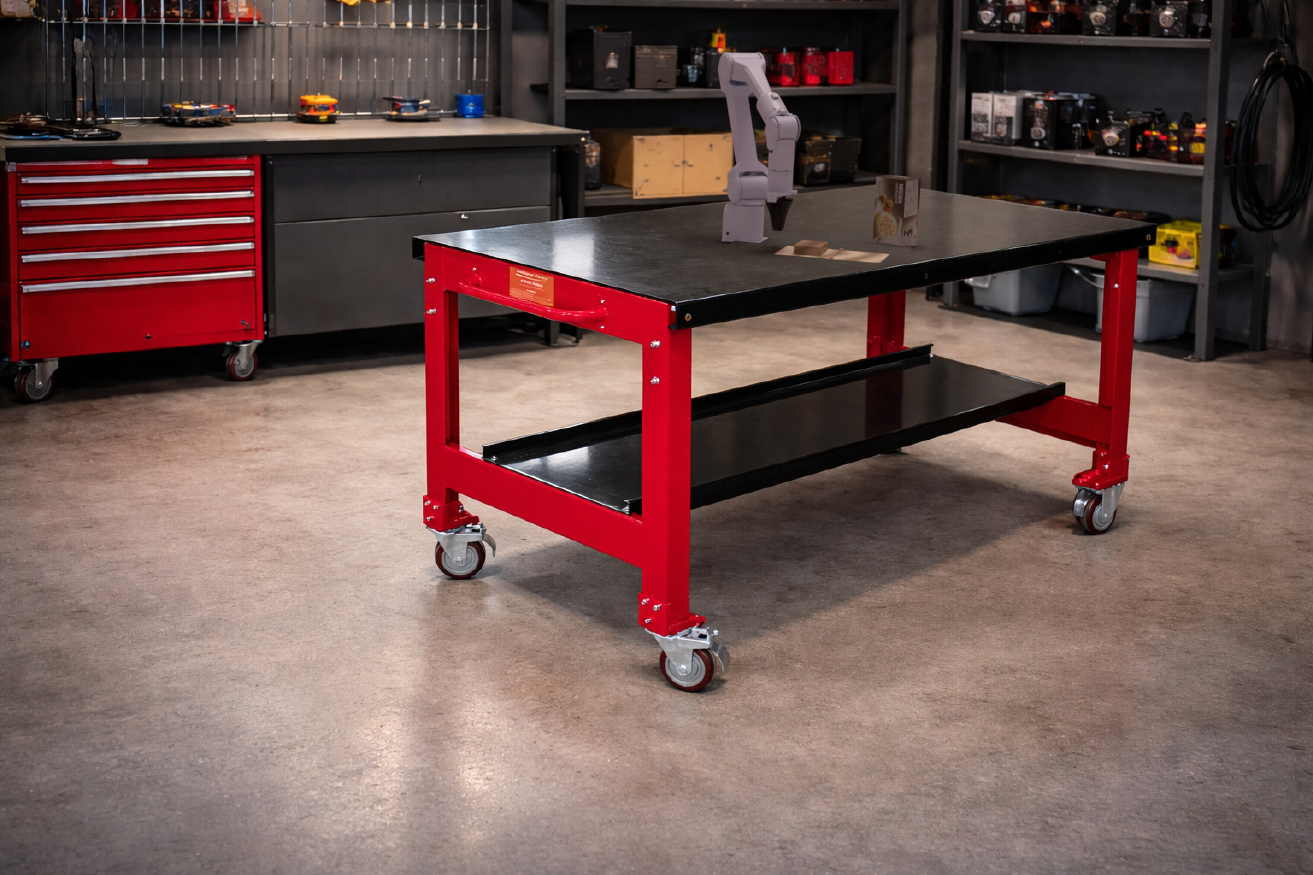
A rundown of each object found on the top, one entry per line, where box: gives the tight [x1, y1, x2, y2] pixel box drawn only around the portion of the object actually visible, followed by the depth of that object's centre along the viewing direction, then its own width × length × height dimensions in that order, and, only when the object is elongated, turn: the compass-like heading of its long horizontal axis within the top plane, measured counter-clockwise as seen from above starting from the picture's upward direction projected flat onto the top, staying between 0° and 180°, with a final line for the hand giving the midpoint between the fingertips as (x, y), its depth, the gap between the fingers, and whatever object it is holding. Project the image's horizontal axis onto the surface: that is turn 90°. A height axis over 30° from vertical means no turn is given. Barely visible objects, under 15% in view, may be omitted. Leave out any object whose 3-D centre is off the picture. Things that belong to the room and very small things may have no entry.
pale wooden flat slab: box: [774, 245, 890, 264], centre depth 309 cm, size 24×12×1 cm, turn 71°
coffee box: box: [871, 174, 922, 247], centre depth 324 cm, size 9×6×16 cm
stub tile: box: [793, 239, 829, 256], centre depth 310 cm, size 6×8×2 cm
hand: (777, 230), depth 311 cm, fingers closed
